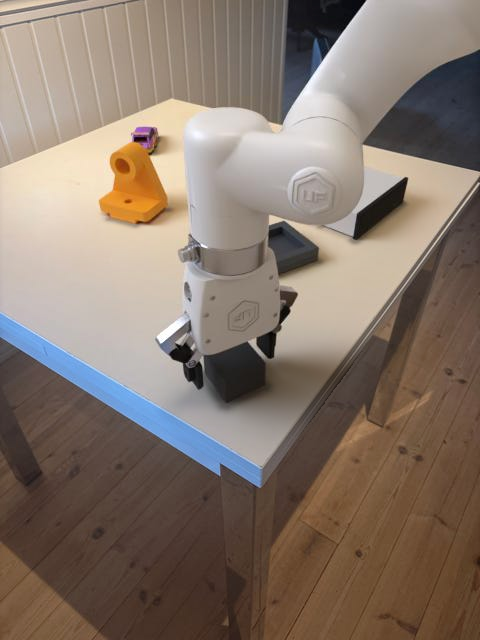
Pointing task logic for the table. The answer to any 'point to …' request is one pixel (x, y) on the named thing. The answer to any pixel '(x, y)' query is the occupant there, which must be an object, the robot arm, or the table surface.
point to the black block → (235, 371)
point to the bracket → (134, 186)
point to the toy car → (146, 137)
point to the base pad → (290, 247)
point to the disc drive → (373, 202)
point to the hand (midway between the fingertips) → (231, 365)
